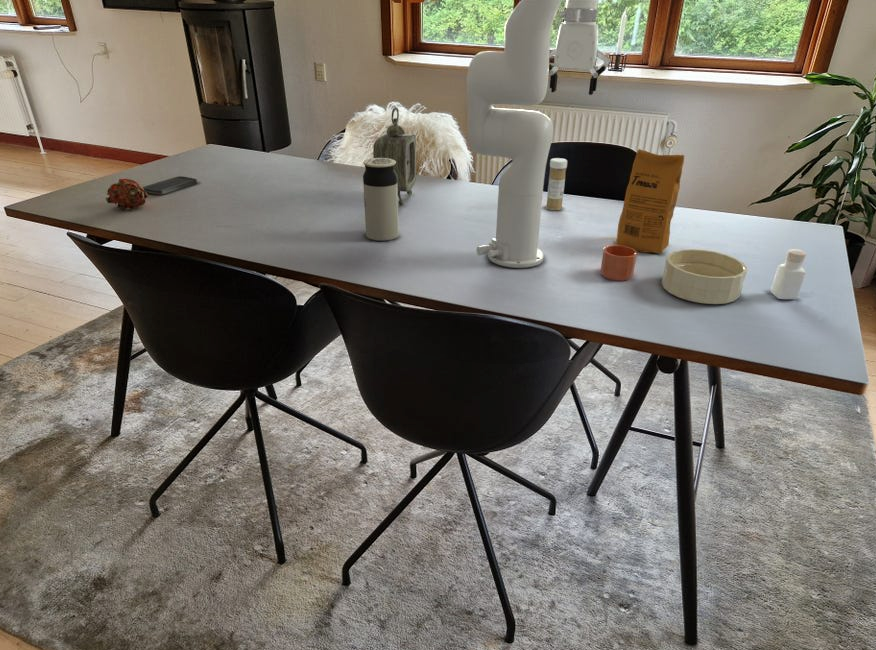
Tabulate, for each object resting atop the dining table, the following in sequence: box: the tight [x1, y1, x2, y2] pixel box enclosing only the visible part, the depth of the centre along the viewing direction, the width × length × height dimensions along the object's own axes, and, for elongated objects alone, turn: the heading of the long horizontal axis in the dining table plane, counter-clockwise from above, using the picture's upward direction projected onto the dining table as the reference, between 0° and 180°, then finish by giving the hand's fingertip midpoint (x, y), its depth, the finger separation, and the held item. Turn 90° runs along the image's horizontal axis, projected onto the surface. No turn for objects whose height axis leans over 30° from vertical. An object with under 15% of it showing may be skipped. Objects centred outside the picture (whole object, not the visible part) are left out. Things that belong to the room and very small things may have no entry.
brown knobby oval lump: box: [105, 178, 149, 211], centre depth 168 cm, size 8×8×12 cm
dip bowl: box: [600, 244, 638, 282], centre depth 134 cm, size 7×7×6 cm
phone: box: [141, 175, 198, 196], centre depth 187 cm, size 8×1×15 cm
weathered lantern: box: [372, 106, 417, 207], centre depth 174 cm, size 14×9×25 cm, turn 171°
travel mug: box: [362, 157, 400, 242], centre depth 149 cm, size 8×8×18 cm
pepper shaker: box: [770, 248, 807, 300], centre depth 125 cm, size 4×4×10 cm
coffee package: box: [615, 148, 685, 254], centre depth 146 cm, size 10×12×22 cm
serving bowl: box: [661, 248, 748, 305], centre depth 128 cm, size 15×15×6 cm
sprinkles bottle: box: [545, 157, 568, 211], centre depth 172 cm, size 5×5×14 cm
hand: (572, 92), depth 161 cm, fingers open, 9 cm apart
